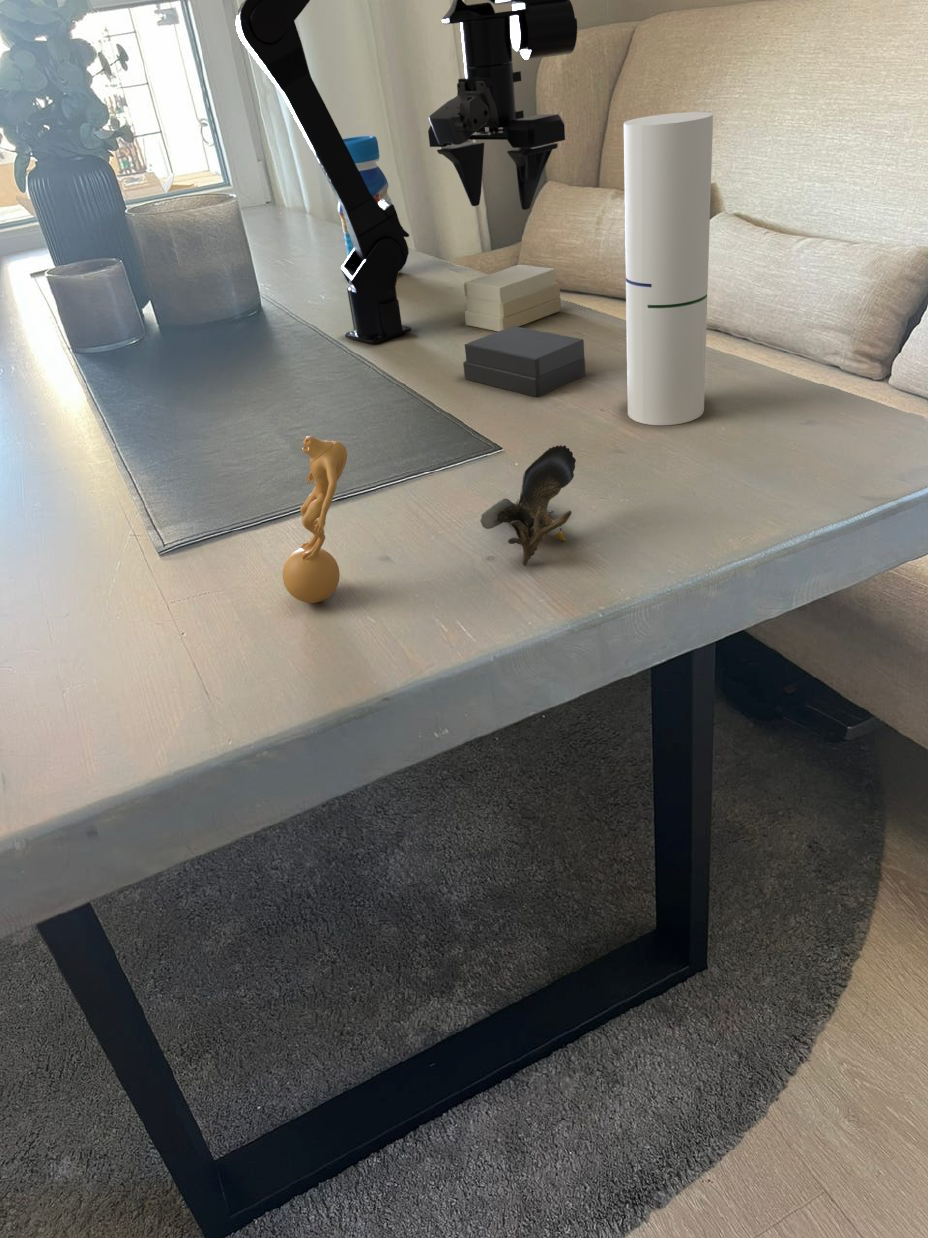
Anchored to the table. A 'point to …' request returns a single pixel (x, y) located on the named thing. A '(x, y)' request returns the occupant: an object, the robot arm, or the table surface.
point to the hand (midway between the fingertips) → (500, 207)
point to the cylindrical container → (667, 264)
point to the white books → (513, 309)
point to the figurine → (316, 526)
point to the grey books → (525, 360)
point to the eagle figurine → (535, 501)
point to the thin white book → (510, 283)
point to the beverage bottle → (365, 174)
